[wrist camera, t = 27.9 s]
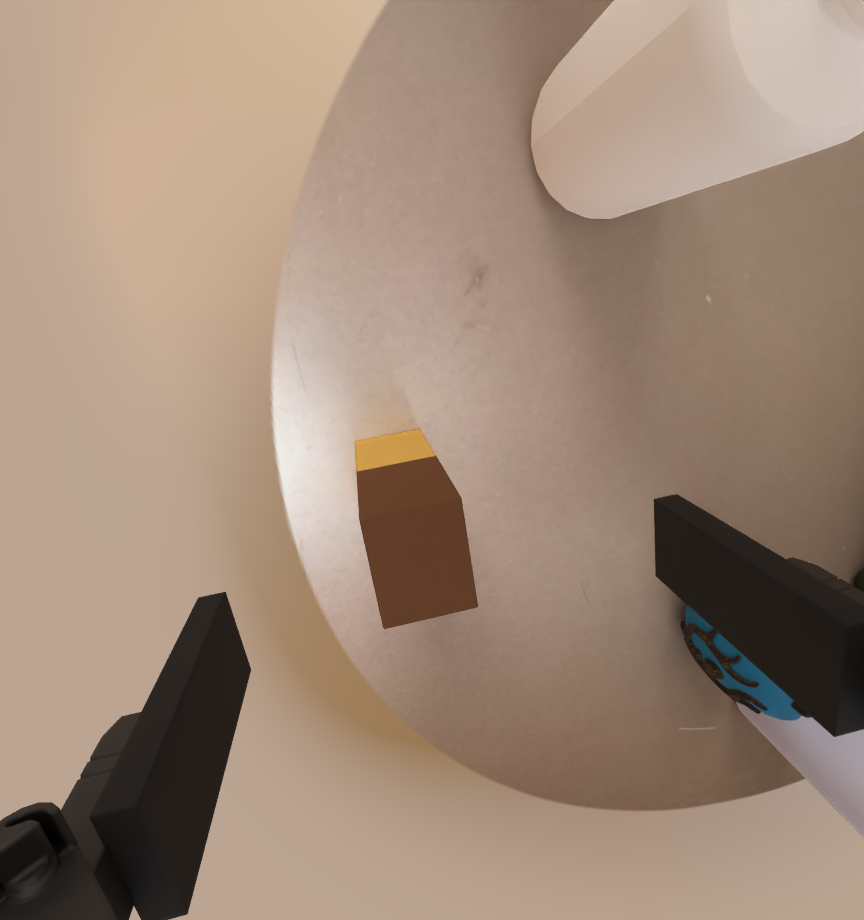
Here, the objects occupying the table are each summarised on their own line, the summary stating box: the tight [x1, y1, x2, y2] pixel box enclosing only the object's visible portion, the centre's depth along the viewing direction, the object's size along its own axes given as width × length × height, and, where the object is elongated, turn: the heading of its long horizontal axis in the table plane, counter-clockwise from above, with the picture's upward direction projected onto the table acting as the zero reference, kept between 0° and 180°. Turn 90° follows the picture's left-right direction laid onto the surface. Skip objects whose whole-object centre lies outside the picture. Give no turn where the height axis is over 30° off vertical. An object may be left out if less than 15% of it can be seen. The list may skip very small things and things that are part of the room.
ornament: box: [681, 605, 811, 721], centre depth 34 cm, size 8×5×10 cm, turn 27°
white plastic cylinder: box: [531, 0, 864, 219], centre depth 20 cm, size 8×8×18 cm
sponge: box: [355, 429, 478, 629], centre depth 26 cm, size 4×5×12 cm
